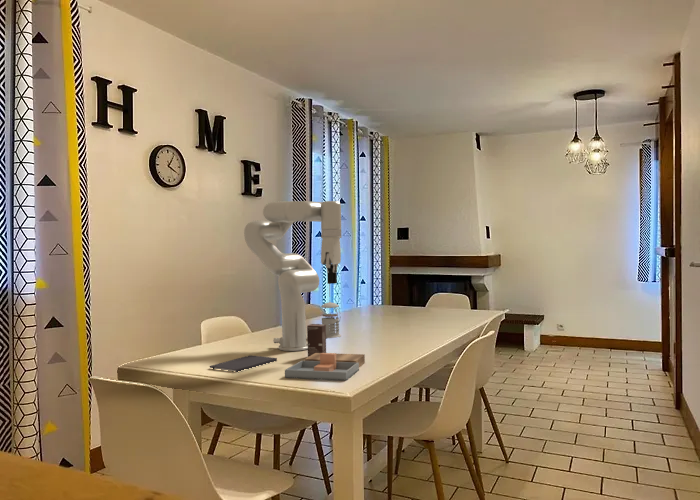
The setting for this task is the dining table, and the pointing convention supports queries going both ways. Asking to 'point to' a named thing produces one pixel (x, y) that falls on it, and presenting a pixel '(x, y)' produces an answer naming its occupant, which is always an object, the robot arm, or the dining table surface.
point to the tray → (307, 371)
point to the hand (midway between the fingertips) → (332, 283)
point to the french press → (331, 320)
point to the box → (316, 338)
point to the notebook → (243, 363)
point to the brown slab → (341, 358)
